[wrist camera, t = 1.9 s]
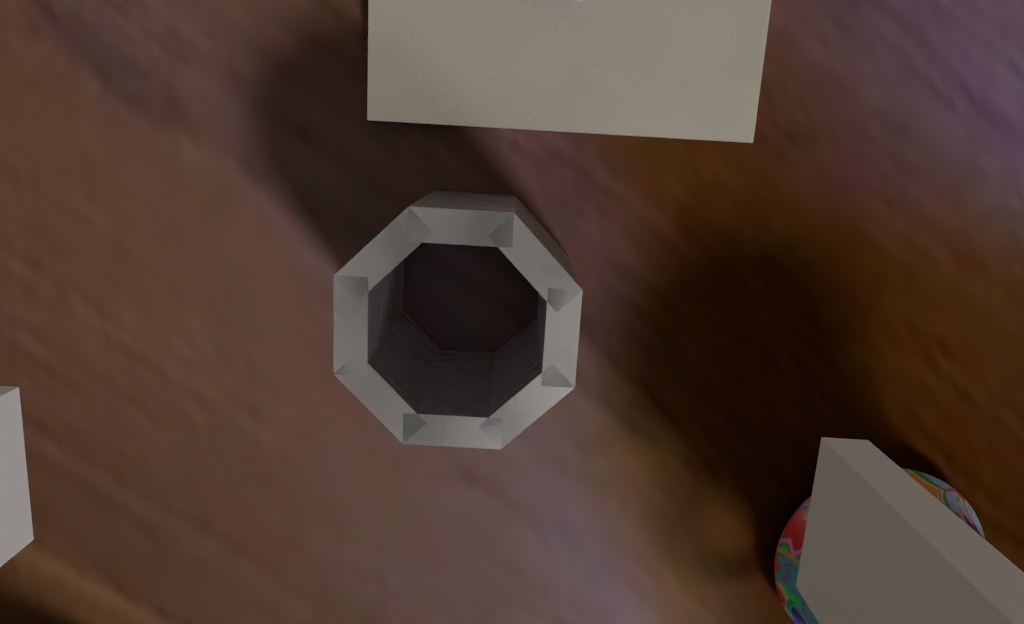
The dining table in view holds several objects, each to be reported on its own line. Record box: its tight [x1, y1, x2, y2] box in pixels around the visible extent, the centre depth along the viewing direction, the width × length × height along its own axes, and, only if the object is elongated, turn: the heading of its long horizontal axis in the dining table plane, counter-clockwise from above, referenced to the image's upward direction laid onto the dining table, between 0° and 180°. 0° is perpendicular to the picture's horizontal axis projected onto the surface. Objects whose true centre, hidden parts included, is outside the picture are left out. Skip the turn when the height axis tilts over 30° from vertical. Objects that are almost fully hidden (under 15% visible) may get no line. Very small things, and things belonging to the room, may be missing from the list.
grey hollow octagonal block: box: [334, 190, 583, 449], centre depth 25 cm, size 7×7×7 cm
